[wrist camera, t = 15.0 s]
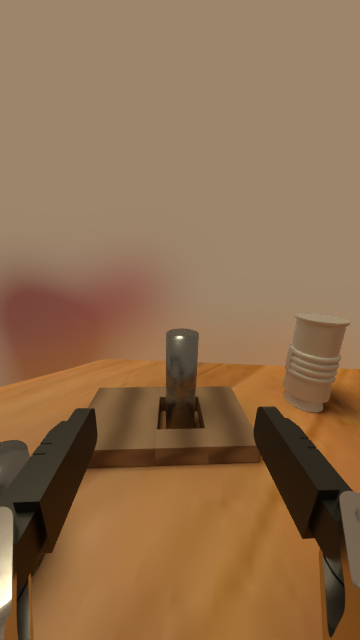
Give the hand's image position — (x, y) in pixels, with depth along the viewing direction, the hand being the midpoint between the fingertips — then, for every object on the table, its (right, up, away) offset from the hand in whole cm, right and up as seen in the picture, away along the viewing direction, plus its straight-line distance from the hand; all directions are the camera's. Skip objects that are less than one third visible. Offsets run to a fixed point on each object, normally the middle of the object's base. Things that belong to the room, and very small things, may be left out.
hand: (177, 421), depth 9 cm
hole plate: (-2, -10, +17) cm, 20 cm away
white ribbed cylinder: (+22, -9, +23) cm, 33 cm away
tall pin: (0, -10, +17) cm, 20 cm away
